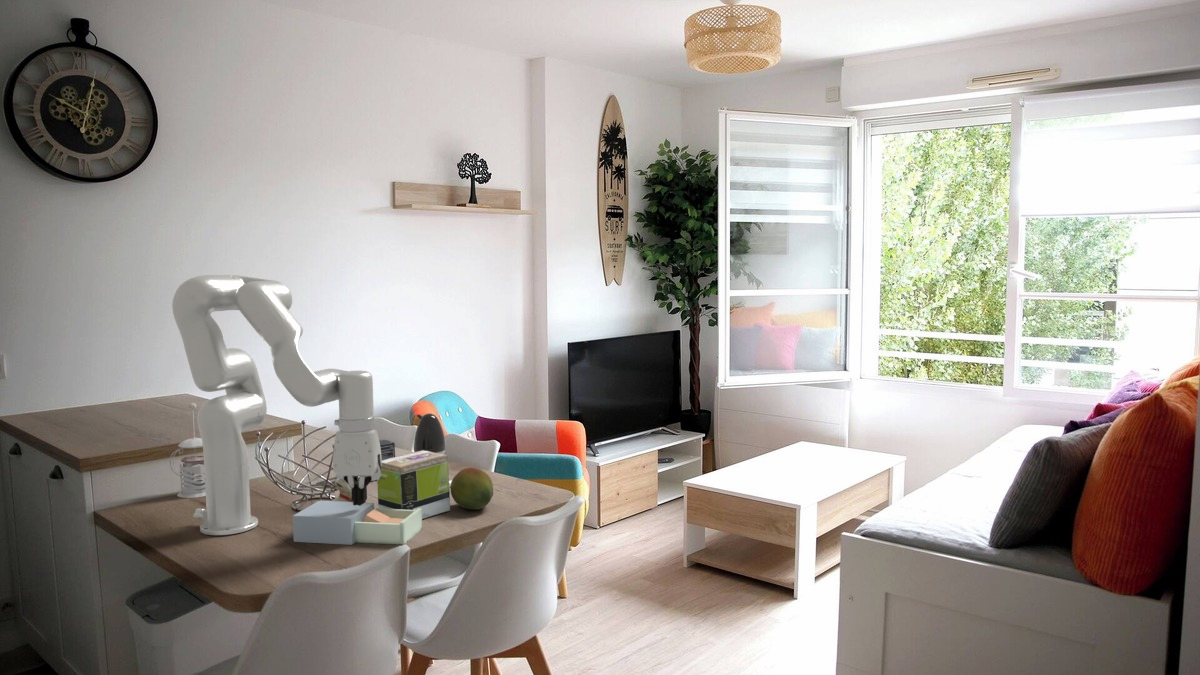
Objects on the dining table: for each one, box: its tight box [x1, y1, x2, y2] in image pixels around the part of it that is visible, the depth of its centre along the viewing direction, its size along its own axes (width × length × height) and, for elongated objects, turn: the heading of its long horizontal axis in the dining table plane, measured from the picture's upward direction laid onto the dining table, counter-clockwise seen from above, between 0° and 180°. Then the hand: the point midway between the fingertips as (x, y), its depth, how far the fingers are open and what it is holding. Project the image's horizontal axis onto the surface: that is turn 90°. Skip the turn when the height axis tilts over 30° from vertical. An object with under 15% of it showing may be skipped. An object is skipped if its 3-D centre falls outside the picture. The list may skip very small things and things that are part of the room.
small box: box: [359, 439, 396, 483], centre depth 238 cm, size 11×6×10 cm, turn 133°
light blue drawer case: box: [292, 500, 375, 546], centre depth 188 cm, size 14×12×6 cm
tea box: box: [376, 450, 451, 520], centre depth 202 cm, size 15×10×15 cm, turn 141°
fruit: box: [450, 467, 494, 510], centre depth 208 cm, size 12×13×10 cm
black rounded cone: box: [412, 413, 447, 455], centre depth 259 cm, size 10×10×15 cm
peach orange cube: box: [385, 518, 404, 524], centre depth 185 cm, size 4×4×4 cm
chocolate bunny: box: [332, 478, 353, 502], centre depth 203 cm, size 6×8×10 cm
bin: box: [355, 507, 423, 545], centre depth 187 cm, size 12×11×5 cm
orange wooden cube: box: [363, 508, 390, 523], centre depth 186 cm, size 4×4×4 cm
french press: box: [169, 402, 206, 499], centre depth 222 cm, size 10×12×25 cm
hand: (359, 503), depth 187 cm, fingers closed
